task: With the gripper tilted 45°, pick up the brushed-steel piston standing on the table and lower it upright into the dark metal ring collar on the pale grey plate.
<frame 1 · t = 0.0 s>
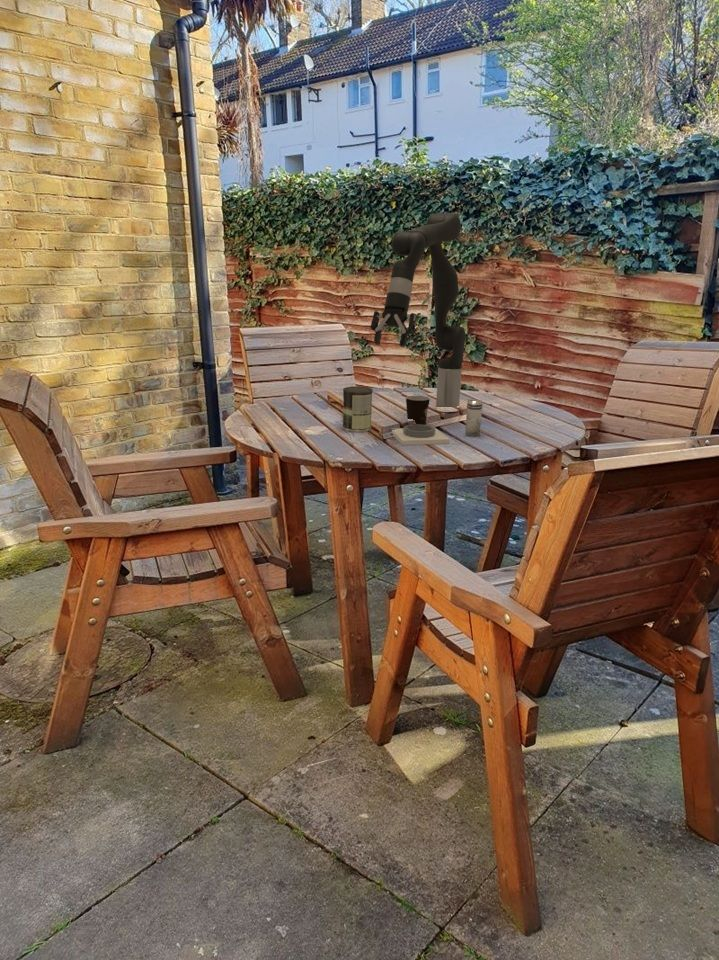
hand: (389, 345, 213), 31 cm above the table, tool tilted 20°, fingers open, 8 cm apart
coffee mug: (419, 425, 247), on the table
coffee can: (357, 429, 239), on the table
piston: (472, 434, 234), on the table
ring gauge: (418, 438, 228), on the table
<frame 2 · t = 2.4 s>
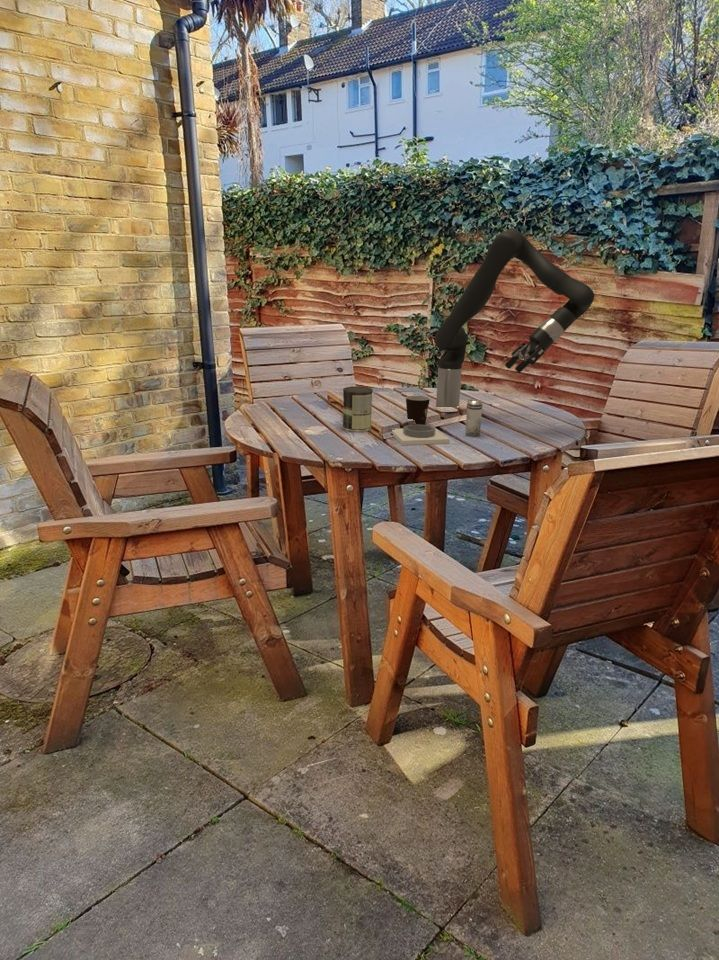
hand: (511, 369, 230), 23 cm above the table, tool tilted 45°, fingers open, 8 cm apart
nothing on the table moved.
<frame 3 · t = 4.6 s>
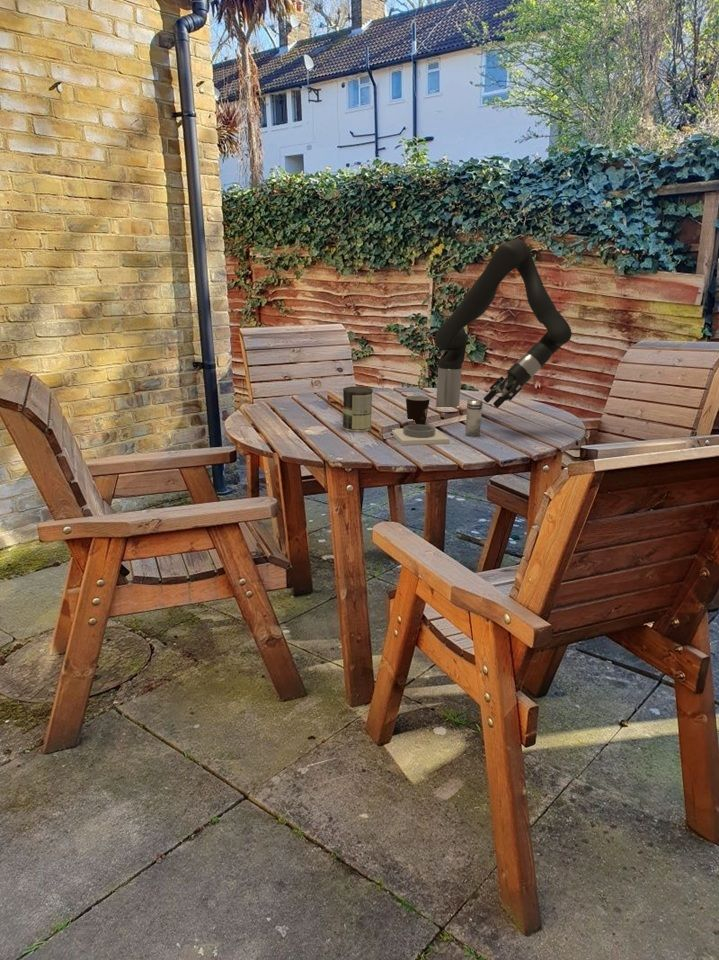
hand: (489, 403, 232), 11 cm above the table, tool tilted 45°, fingers open, 8 cm apart
nothing on the table moved.
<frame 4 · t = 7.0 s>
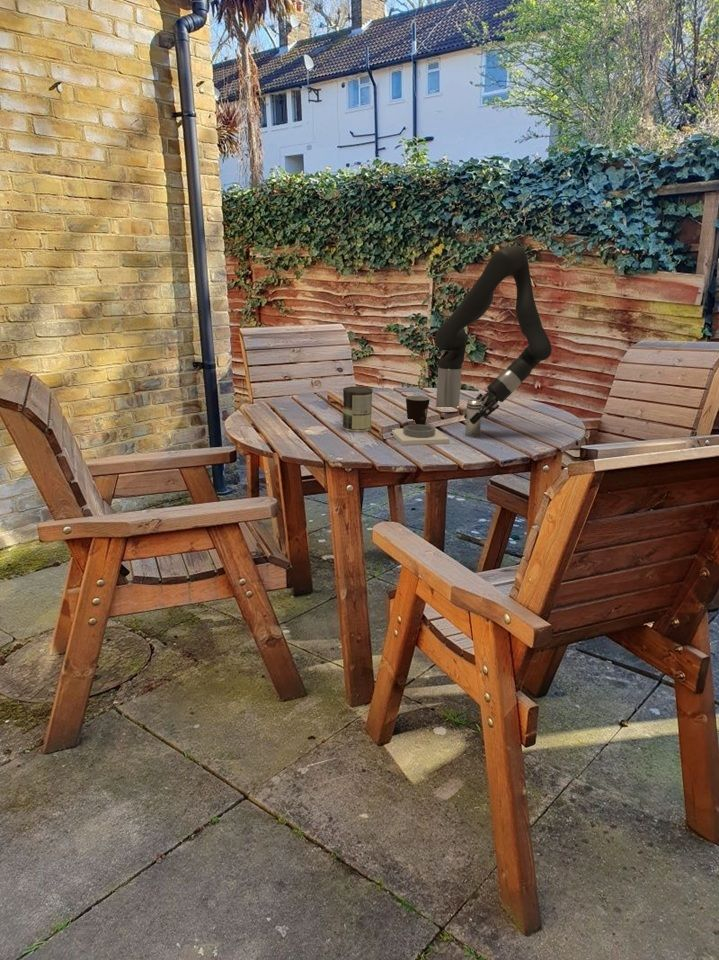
hand: (468, 420, 232), 5 cm above the table, tool tilted 45°, fingers closed on piston, 5 cm apart
piston: (472, 434, 234), on the table, touching gripper
everything else where it was.
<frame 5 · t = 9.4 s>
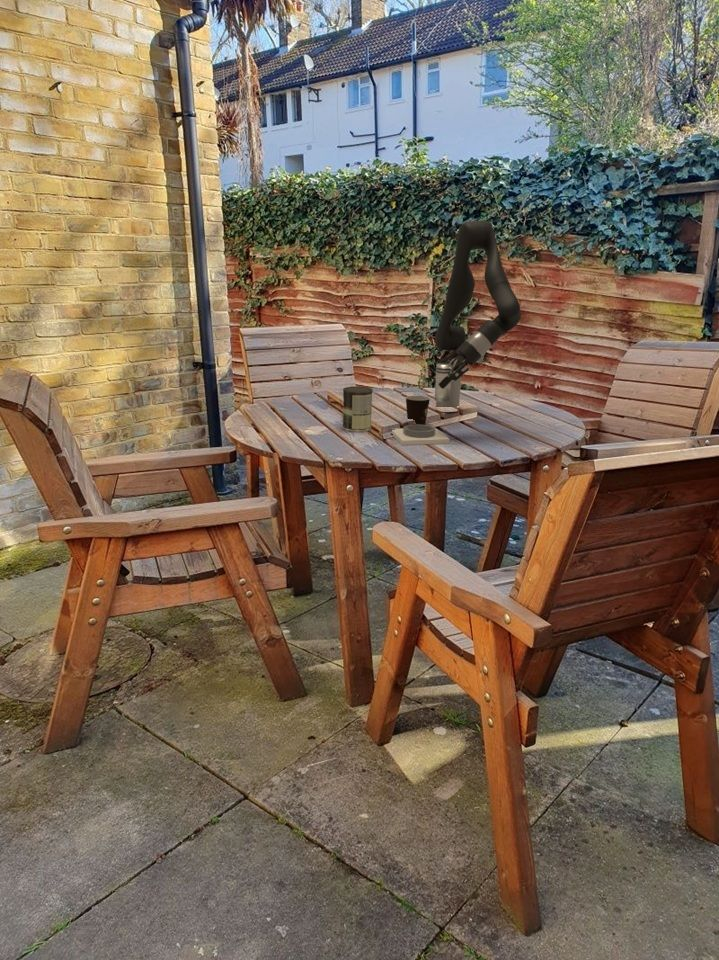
hand: (437, 385, 224), 18 cm above the table, tool tilted 45°, fingers closed on piston, 5 cm apart
piston: (442, 400, 226), point 13 cm above the table, touching gripper
everything else where it was.
when the fingers open (8 cm above the table, at t = 12.3 s): piston drops 1 cm, resting on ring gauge.
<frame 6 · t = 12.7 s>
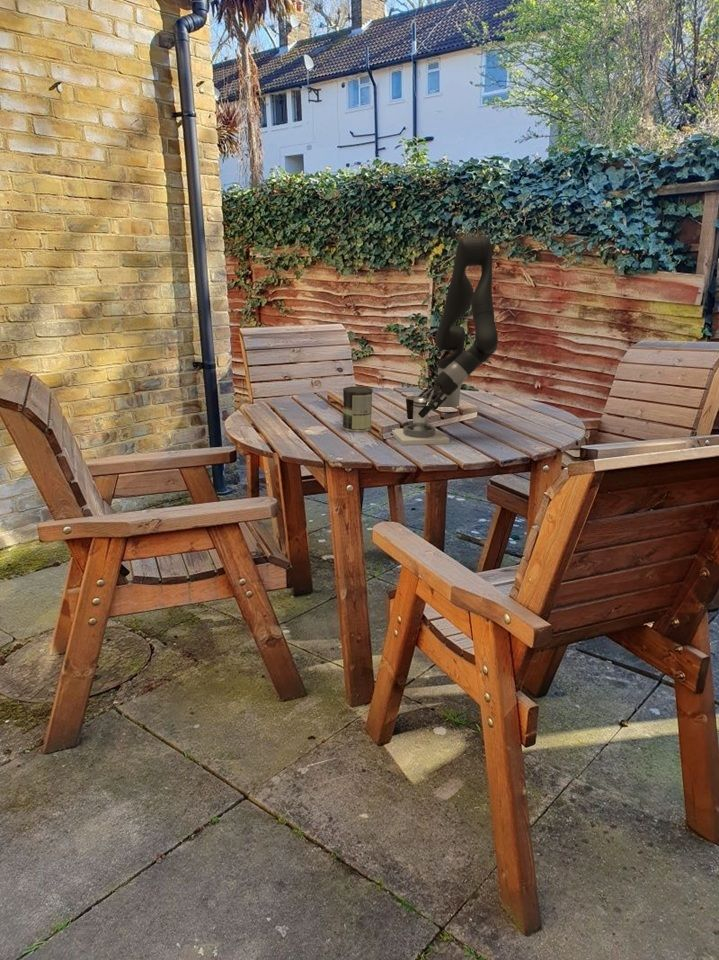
hand: (416, 413, 225), 9 cm above the table, tool tilted 45°, fingers open, 8 cm apart
piston: (419, 433, 228), point 2 cm above the table, touching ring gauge
everything else where it was.
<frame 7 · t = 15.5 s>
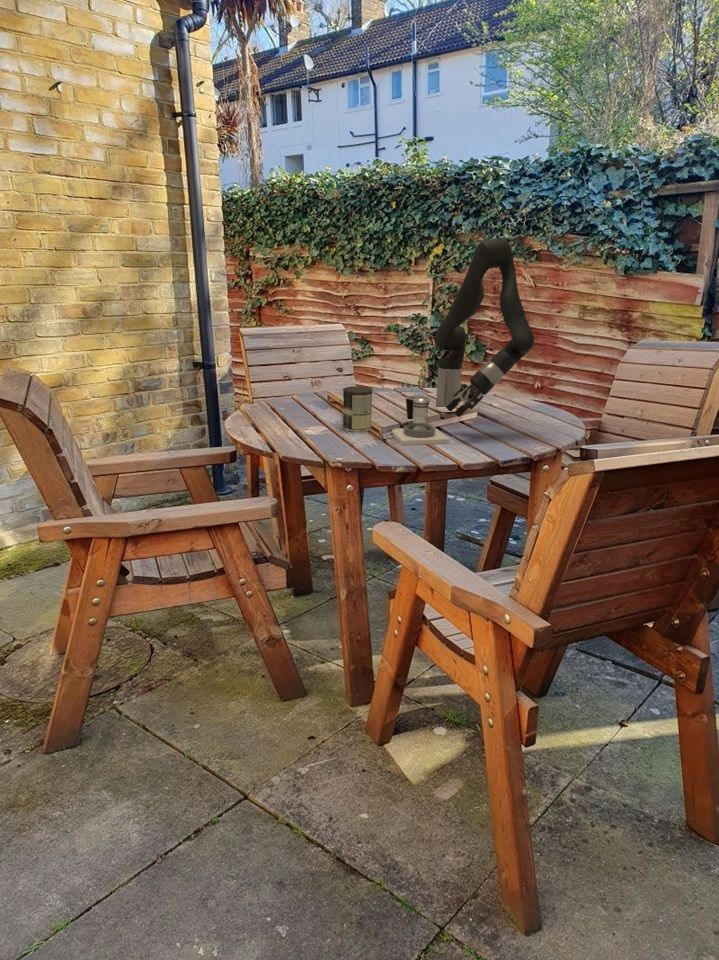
hand: (452, 412, 228), 9 cm above the table, tool tilted 45°, fingers open, 8 cm apart
nothing on the table moved.
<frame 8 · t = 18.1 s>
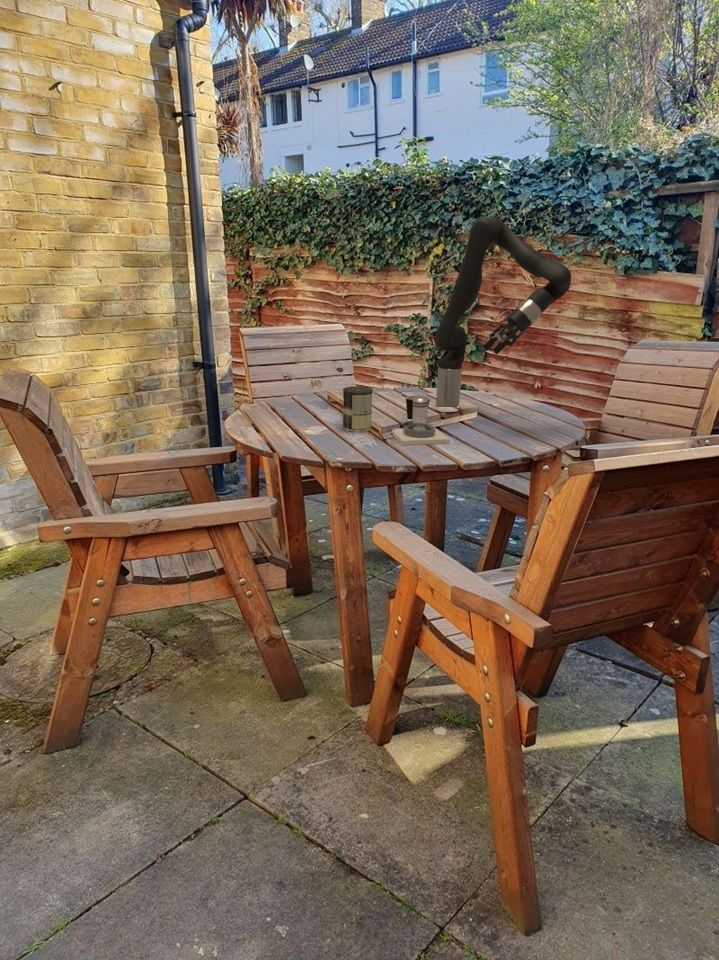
hand: (489, 350, 228), 29 cm above the table, tool tilted 45°, fingers open, 8 cm apart
nothing on the table moved.
at the end: piston 0.2 cm off-centre on the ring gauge, point 1.6 cm above the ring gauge's base; piston tilted 2°; the gripper is holding nothing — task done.
